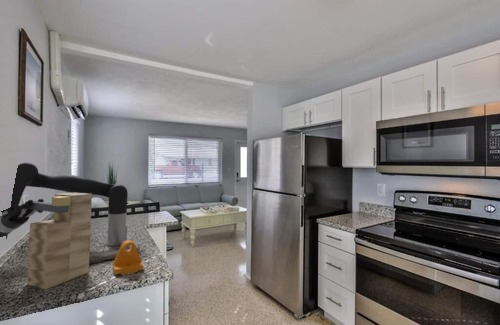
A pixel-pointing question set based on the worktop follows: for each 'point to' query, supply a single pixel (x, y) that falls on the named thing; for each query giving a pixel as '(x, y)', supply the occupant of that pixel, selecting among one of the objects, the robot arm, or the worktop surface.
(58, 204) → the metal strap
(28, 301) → the worktop surface
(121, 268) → the bracket
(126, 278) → the worktop surface
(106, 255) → the long grey stone
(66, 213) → the block
